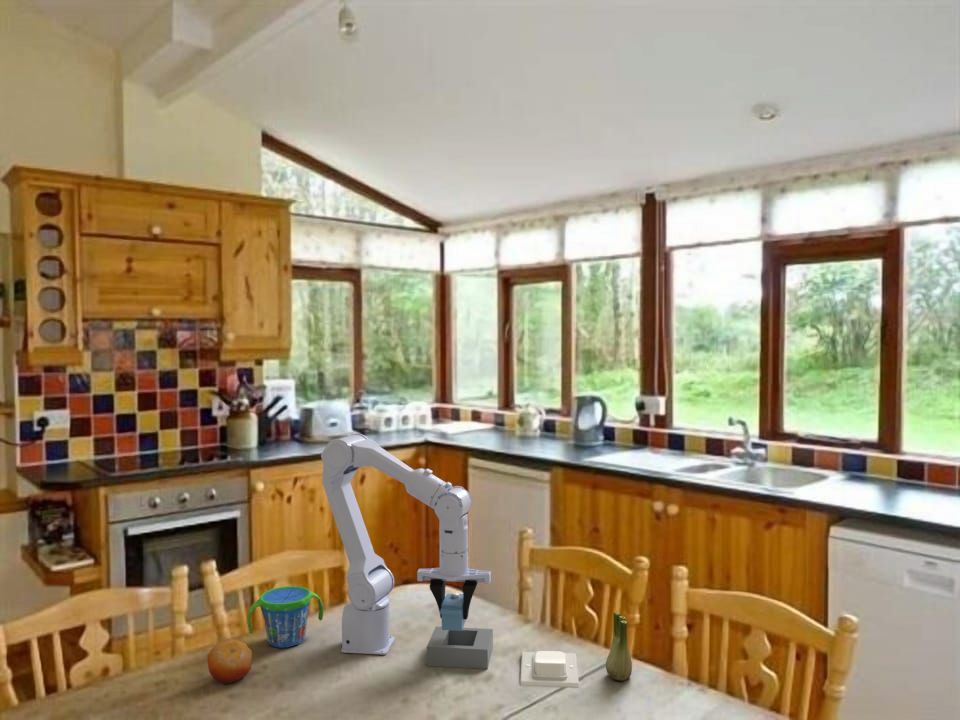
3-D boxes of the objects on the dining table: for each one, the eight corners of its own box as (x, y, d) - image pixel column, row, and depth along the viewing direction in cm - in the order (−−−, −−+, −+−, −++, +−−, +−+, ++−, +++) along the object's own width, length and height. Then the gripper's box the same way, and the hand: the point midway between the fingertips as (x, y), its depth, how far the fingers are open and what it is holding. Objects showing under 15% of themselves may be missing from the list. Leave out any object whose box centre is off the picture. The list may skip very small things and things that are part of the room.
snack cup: (248, 657, 148) (248, 607, 148) (246, 637, 158) (245, 590, 158) (327, 646, 154) (326, 598, 154) (320, 627, 164) (319, 582, 163)
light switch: (519, 671, 136) (521, 638, 149) (520, 692, 137) (521, 658, 149) (579, 673, 135) (576, 640, 148) (579, 694, 136) (576, 659, 148)
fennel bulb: (629, 686, 136) (629, 622, 136) (602, 681, 138) (603, 618, 137) (634, 672, 142) (634, 610, 141) (608, 668, 143) (608, 607, 143)
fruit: (235, 655, 146) (244, 627, 143) (251, 687, 142) (261, 658, 139) (195, 668, 141) (203, 639, 138) (211, 701, 136) (220, 672, 133)
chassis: (426, 665, 145) (426, 646, 144) (435, 644, 155) (435, 626, 154) (487, 668, 143) (487, 649, 143) (492, 647, 153) (492, 629, 153)
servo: (440, 633, 143) (439, 604, 143) (448, 614, 152) (448, 588, 152) (460, 634, 142) (460, 605, 142) (467, 615, 152) (467, 588, 152)
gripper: (413, 554, 144) (414, 623, 144) (487, 556, 142) (488, 626, 142) (421, 544, 151) (421, 609, 151) (491, 546, 149) (492, 612, 149)
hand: (454, 617), depth 147 cm, fingers closed on servo, 4 cm apart
